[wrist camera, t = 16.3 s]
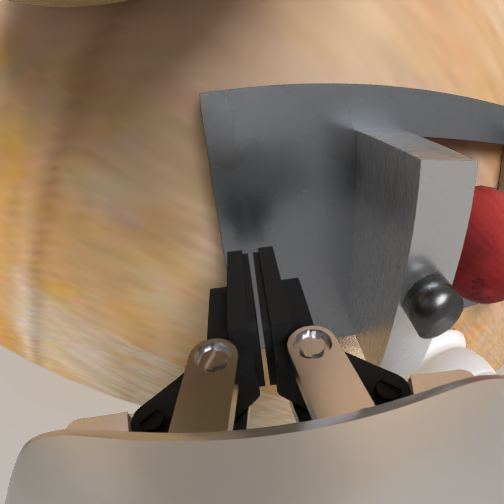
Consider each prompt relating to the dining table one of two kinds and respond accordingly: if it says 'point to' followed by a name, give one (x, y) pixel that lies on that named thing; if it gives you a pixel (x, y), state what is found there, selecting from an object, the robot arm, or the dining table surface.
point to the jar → (452, 356)
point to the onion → (483, 249)
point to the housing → (315, 172)
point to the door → (406, 244)
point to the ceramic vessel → (67, 2)
